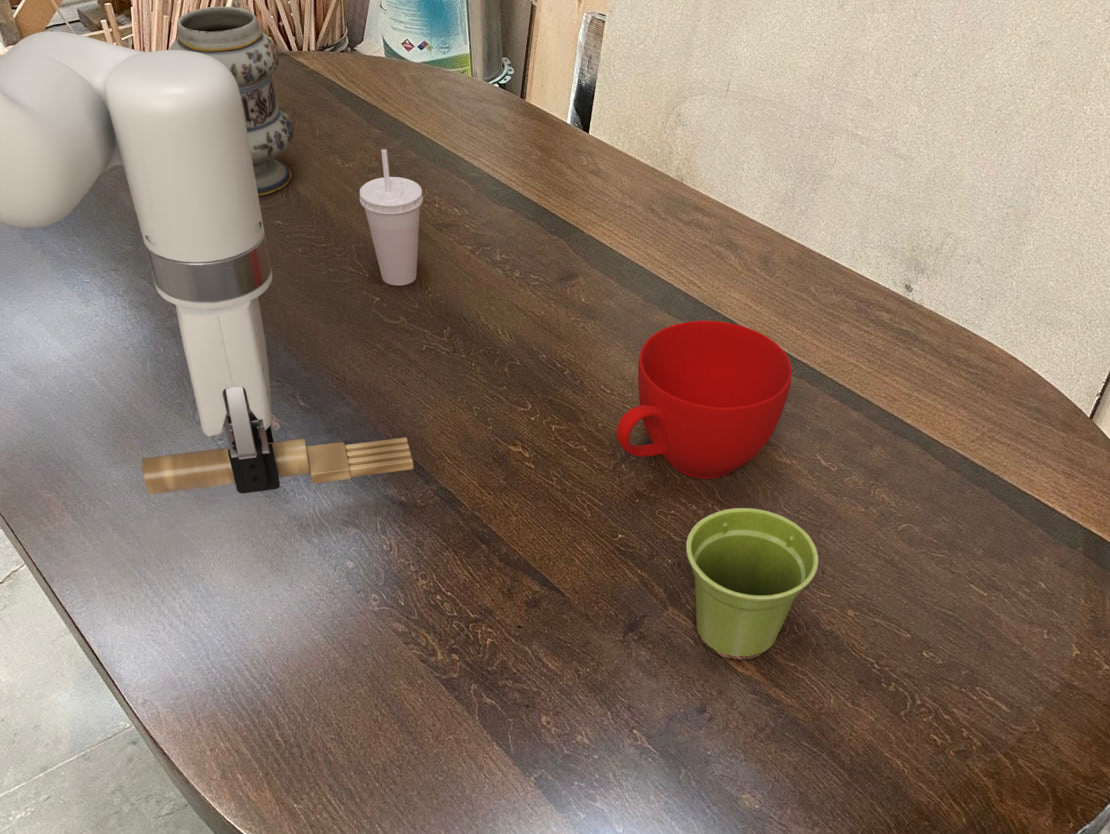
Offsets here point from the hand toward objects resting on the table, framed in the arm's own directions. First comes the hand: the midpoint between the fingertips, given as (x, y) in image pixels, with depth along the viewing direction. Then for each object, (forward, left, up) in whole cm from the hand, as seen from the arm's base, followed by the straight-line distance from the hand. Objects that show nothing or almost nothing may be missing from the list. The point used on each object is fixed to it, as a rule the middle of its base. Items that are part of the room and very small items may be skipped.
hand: (257, 472), depth 84 cm
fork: (+2, 0, 0) cm, 2 cm away
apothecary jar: (+2, +63, -6) cm, 63 cm away
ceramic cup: (+36, 0, -6) cm, 37 cm away
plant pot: (+33, -20, -6) cm, 39 cm away
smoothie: (+16, +37, -6) cm, 41 cm away
